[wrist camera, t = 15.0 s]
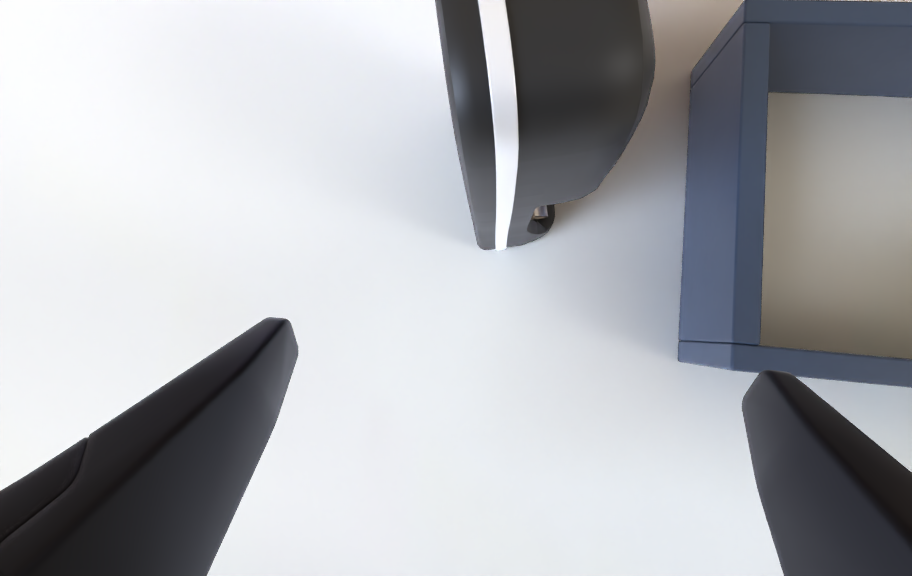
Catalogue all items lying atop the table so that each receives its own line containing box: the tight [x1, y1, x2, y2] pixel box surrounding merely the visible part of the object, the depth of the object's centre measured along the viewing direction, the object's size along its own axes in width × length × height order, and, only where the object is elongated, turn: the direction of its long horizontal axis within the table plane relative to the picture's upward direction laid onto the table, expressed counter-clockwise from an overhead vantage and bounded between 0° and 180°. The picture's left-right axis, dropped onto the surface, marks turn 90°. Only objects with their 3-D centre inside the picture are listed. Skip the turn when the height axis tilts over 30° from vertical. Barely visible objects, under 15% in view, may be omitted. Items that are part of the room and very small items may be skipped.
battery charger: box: [435, 0, 655, 251], centre depth 13 cm, size 7×4×11 cm, turn 8°
